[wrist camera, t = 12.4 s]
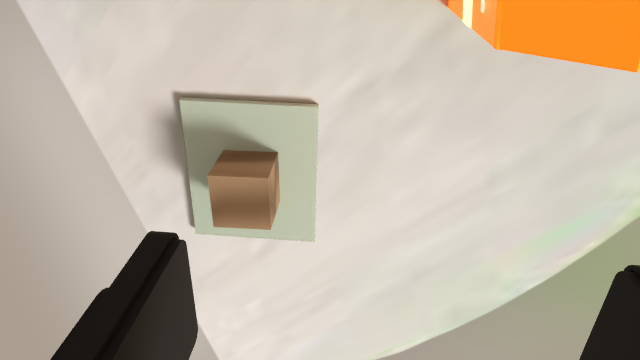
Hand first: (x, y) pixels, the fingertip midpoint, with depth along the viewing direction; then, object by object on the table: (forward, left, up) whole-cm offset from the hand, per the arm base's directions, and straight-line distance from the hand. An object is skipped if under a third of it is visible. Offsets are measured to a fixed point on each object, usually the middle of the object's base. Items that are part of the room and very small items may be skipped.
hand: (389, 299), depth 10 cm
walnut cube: (+13, -10, -29) cm, 34 cm away
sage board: (+13, -10, -30) cm, 34 cm away
